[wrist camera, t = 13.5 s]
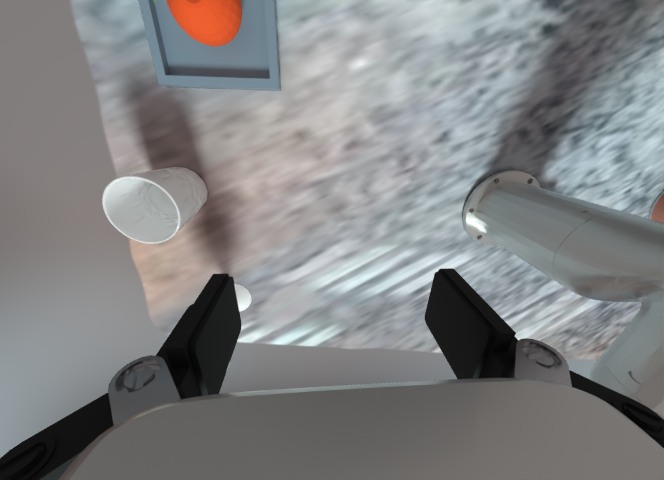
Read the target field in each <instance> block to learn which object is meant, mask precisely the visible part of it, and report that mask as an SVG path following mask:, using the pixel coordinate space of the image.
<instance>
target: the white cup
mask: <svg viewBox="0 0 664 480" xmlns="http://www.w3.org/2000/svg"><path fill="white" fill-rule="evenodd" d="M207 193H208V191H207V189H206V186H205V183H204V181H203V180H202V179H201V178H200V177H199V176H198V175H197V173H195V172H193V171H191V170H189V169H187V168H184V167H171V168H164V169H157V170H151V171H146V172H142V173H137V174H133V175H128V176H123V177H119V178H117V179H115V180H113V181H112V182H110V183H109V184H108V185H107V187H106V188H105V190H104V193H103V197H102V203H103V208H104V211H105V214H106V216H107V218H108V219H109V220H110V222H111V223H112V225H113V226H114V227H115V228H116V229H117V230H119V231H120V232H121V233H122V234H124V235H125V236H127V237H129V238H131V239H133V240H136V241H139V242H143V243H161V242H164V241H166V240H168V239H170V238H171V237H173V236H174V235H175V234H176V233H177V232H178V231H179V230H180V229H181V228H182V227H183V226H184V225H185V224H187V223H188V222H189V221H190V220H191V219H192V218H193V217H194V215H196V214H197V212H198V211H199V210H200V209H201V208H202V206H203V205H204V204H205V203H206V201H207Z"/></svg>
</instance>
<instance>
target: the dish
mask: <svg viewBox="0 0 664 480" xmlns="http://www.w3.org/2000/svg"><path fill="white" fill-rule="evenodd" d="M138 1H139V5H140V9H141V13H142V17H143V21H144V26H145V30H146V34H147V38H148V42H149V46H150V51H151V55H152V59H153V63H154V67H155V71H156V76H157V80H158V84H159V85H161V86H165V87H177V88H209V89H241V90H273V91H281V85H280V68H279V51H278V34H277V17H276V1H275V0H241V7H242V21H241V25H240V28H239V31H238V33H237V35H236V36H235V37H234V39H233V40H231V41H230V42H229V43H228V44H225V45H222V46H209V45H206V44H203V43H200V42H198V41H196V40H195V39H193V38H192V37H190V36H189V35H188V34H187V33H186V32H185V31H184V30H183V29H182V28H181V27H180V26H179V24H178V23H177V21H176V20H175V18H174V17H173V15H172V13H171V11H170V9H169V6H168V4H167V1H166V0H156V1H153V0H138ZM154 2H155V4H154Z"/></svg>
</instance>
